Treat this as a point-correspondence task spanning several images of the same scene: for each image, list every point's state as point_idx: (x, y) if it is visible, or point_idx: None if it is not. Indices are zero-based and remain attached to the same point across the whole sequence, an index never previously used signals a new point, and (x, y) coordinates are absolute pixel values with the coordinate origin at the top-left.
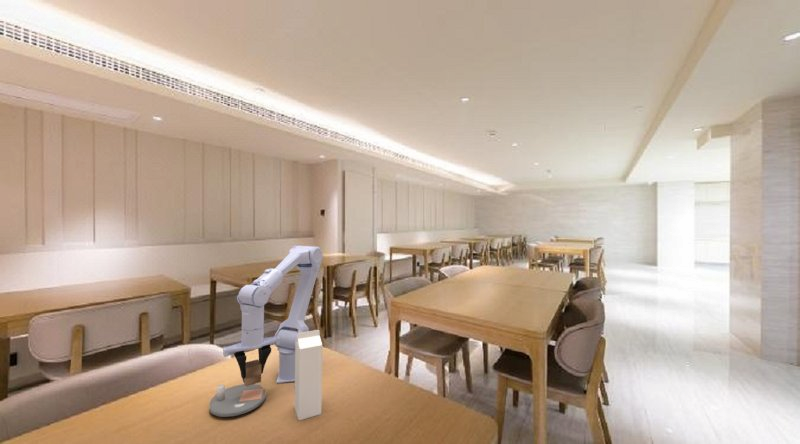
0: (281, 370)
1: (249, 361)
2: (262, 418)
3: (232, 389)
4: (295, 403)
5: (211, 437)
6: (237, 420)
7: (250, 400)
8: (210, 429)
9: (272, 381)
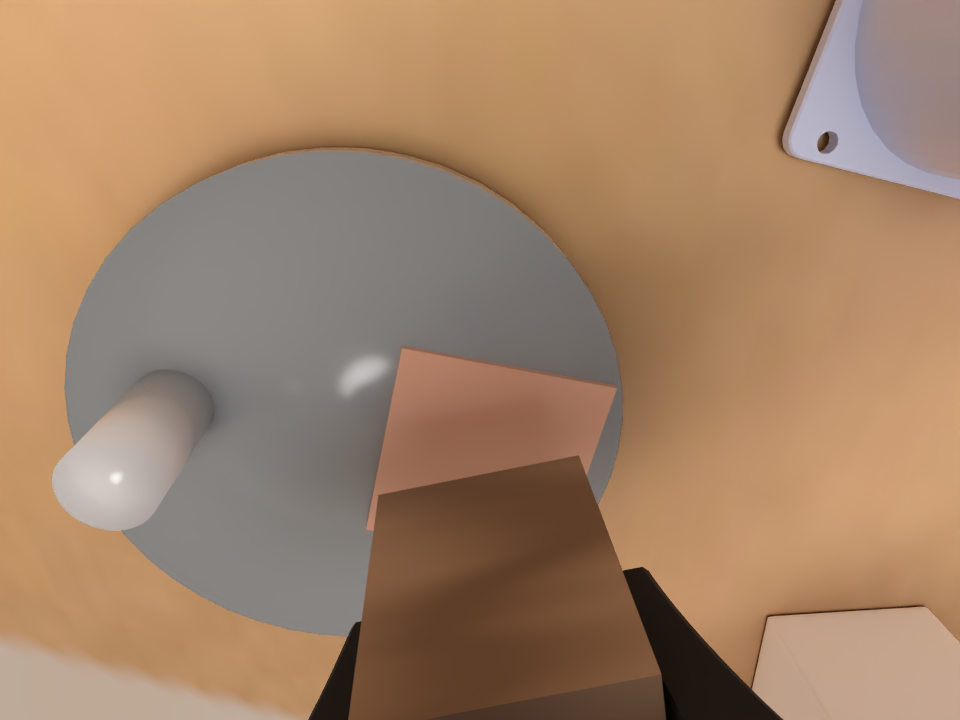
0: (947, 104)
1: (485, 705)
2: None
3: (269, 243)
4: (790, 697)
5: (222, 698)
6: None
7: None
8: (194, 629)
9: (752, 49)
